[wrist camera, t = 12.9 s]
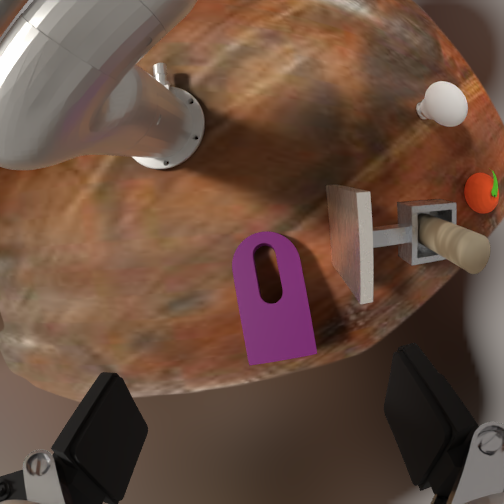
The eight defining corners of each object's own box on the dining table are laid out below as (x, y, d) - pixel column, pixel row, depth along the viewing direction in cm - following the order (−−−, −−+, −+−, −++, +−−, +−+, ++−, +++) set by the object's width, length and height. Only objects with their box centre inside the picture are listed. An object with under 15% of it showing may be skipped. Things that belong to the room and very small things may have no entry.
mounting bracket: (237, 249, 49) (255, 354, 46) (227, 238, 41) (248, 365, 37) (292, 238, 48) (311, 344, 45) (293, 225, 40) (317, 353, 37)
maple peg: (410, 214, 32) (465, 236, 21) (434, 212, 32) (491, 233, 21) (410, 244, 34) (462, 276, 22) (433, 241, 33) (487, 271, 22)
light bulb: (422, 139, 37) (463, 134, 26) (396, 107, 36) (432, 93, 25) (442, 115, 35) (482, 107, 25) (417, 85, 34) (454, 68, 24)
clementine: (461, 160, 37) (487, 161, 30) (485, 173, 37) (510, 176, 31) (453, 203, 39) (478, 210, 33) (477, 214, 40) (502, 222, 33)
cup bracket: (325, 185, 40) (356, 192, 26) (414, 178, 39) (468, 185, 25) (332, 264, 43) (360, 304, 29) (416, 251, 42) (464, 282, 28)
